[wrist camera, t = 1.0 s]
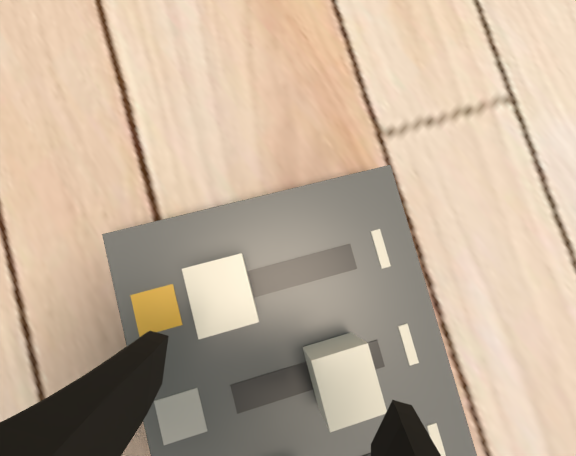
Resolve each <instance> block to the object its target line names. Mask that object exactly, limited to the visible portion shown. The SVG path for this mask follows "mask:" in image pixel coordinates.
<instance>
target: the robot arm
mask: <svg viewBox="0 0 576 456" xmlns="http://www.w3.org/2000/svg"><path fill="white" fill-rule="evenodd" d="M168 337H169V336H168V335H164V334H160V333H157V332H153V331H148V332H146V333H145V334H144V335H142V336H141V337H139V338H138V339H137V340H135V341H134V342H133V343H131V344H130V345H128V346H127V347H126V348H124V349H123V350H121V351H120V352H118V353H117V354H116V355H114V356H113V357H111V358H110V359H108V360H107V361H105V362H104V363H102V364H101V365H99V366H98V367H96V368H95V369H93V370H92V371H90V372H89V373H87V374H86V375H84V376H82V377H81V378H79V379H78V380H76V381H74V382H73V383H71V384H69V385H68V386H66V387H64V388H63V389H61V390H59V391H58V392H56V393H54V394H53V395H51V396H49V397H47V398H46V399H44V400H42V401H40V402H39V403H37V404H35V405H33V406H31V407H29V408H28V409H26V410H24V411H22V412H20V413H18V414H16V415H14V416H12V417H10V418H8V419H6V420H4V421H2V422H0V456H121V454H122V453H123V451H124V450H125V448H126V447H127V445H128V444H129V442H130V440H131V439H132V437H133V436H134V434H135V433H136V431H137V429H138V428H139V426H140V425H141V423H142V422H143V420H144V418H145V417H146V415H147V413H148V411H149V409H150V407H151V405H152V403H153V401H154V399H155V397H156V395H157V393H158V391H159V389H160V387H161V385H162V382H163V374H164V367H165V359H166V352H167V345H168ZM371 456H441V455H440V453H439V451H438V450H437V448H436V446H435V444H434V443H433V441H432V439H431V438H430V436H429V434H428V432H427V431H426V429H425V427H424V425H423V424H422V422H421V420H420V418H419V417H418V415H417V413H416V411H415V410H414V408H413V406H412V405H409V404H406V403H402V402H399V401H395V400H392V402H391V404H390V406H389V408H388V410H387V412H386V414H385V416H384V418H383V420H382V422H381V424H380V426H379V428H378V431H377V433H376V435H375V437H374V439H373V441H372V443H371Z"/></svg>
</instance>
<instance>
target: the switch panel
mask: <svg viewBox="0 0 576 456" xmlns="http://www.w3.org/2000/svg"><path fill="white" fill-rule="evenodd" d="M102 235H103V240H104V244H105V249H106V254H107V258H108V263H109V267H110V272H111V276H112V281H113V285H114V290H115V294H116V299H117V303H118V308H119V313H120V317H121V322H122V326H123V331H124V335H125V340H126V344H127V346H128V345H130V344H131V343H133V342H134V341H135V340H137V339H138V338H139V337H141V336H142V335H144V334H145V333H146V332H148V331H153V332H157V333H160V334H164V335H168V336H169V337H168V345H167V352H166V359H165V367H164V374H163V382H162V385H161V387H160V389H159V391H158V393H157V395H156V397H155V399H154V401H153V403H152V405H151V407H150V409H149V411H148V413H147V415H146V417H145V418H144V420H143V421H144V426H145V431H146V435H147V440H148V444H149V449H150V453H151V456H371V443H372V441H373V439H374V437H375V435H376V433H377V431H378V428H379V426H380V424H381V422H382V420H383V418H384V416H385V414H383V415H380V416H377V417H375V418H372V419H369V420H366V421H363V422H360V423H357V424H354V425H351V426H348V427H345V428H342V429H339V430H336V431H333V432H330V431H329V429H328V427H327V425H326V423H325V421H324V418H323V416H322V414H321V412H320V410H319V408H318V404H317V400H316V397H315V393H314V389H313V385H312V381H311V378H310V374H309V370H308V366H307V362H306V359H305V355H304V351H303V347H305V346H308V345H311V344H314V343H318V342H321V341H324V340H328V339H331V338H334V337H338V336H341V335H344V334H347V333H353V334H354V335H356V336H358V337H359V338H361V339H362V340H364V341H365V342H367V343H368V345H369V349H370V352H371V356H372V360H373V363H374V367H375V370H376V374H377V378H378V381H379V385H380V388H381V392H382V395H383V399H384V403H385V406H386V410H388V408H389V406H390V404H391V402H392V400H395V401H399V402H402V403H406V404H409V405H412V406H413V408H414V410H415V411H416V413H417V415H418V417H419V418H420V420H421V422H422V424H423V425H424V427H425V429H426V431H427V432H428V434H429V436H430V438H431V439H432V441H433V443H434V444H435V446H436V448H437V450H438V451H439V453H440V455H441V456H477V454H476V451H475V447H474V444H473V441H472V437H471V434H470V431H469V427H468V424H467V421H466V417H465V414H464V411H463V407H462V404H461V400H460V397H459V394H458V390H457V387H456V384H455V380H454V377H453V374H452V370H451V367H450V364H449V360H448V357H447V354H446V350H445V347H444V343H443V340H442V337H441V333H440V330H439V327H438V323H437V320H436V317H435V313H434V310H433V307H432V303H431V300H430V297H429V293H428V290H427V286H426V283H425V280H424V276H423V273H422V270H421V266H420V263H419V260H418V256H417V253H416V250H415V246H414V243H413V239H412V236H411V233H410V229H409V226H408V223H407V219H406V216H405V213H404V209H403V206H402V203H401V199H400V196H399V193H398V189H397V186H396V182H395V179H394V176H393V172H392V169H391V166H390V165H388V166H384V167H380V168H375V169H371V170H367V171H363V172H359V173H355V174H351V175H346V176H342V177H338V178H334V179H330V180H326V181H321V182H317V183H313V184H309V185H305V186H301V187H297V188H292V189H288V190H284V191H280V192H276V193H272V194H268V195H263V196H259V197H255V198H251V199H247V200H243V201H238V202H234V203H230V204H226V205H222V206H218V207H214V208H209V209H205V210H201V211H197V212H193V213H189V214H185V215H180V216H176V217H172V218H168V219H164V220H160V221H155V222H151V223H147V224H143V225H139V226H135V227H131V228H126V229H122V230H118V231H114V232H110V233H106V234H102ZM240 253H242V255H243V257H244V261H245V265H246V269H247V273H248V277H249V281H250V285H251V289H252V292H253V296H254V300H255V304H256V308H257V312H258V318H259V322H258V323H254V324H251V325H247V326H244V327H241V328H237V329H234V330H230V331H227V332H223V333H220V334H216V335H213V336H209V337H206V338H202V339H198V335H197V331H196V327H195V323H194V319H193V314H192V310H191V306H190V302H189V298H188V293H187V289H186V285H185V281H184V277H183V272H182V269H183V268H187V267H191V266H194V265H198V264H202V263H206V262H210V261H214V260H217V259H221V258H225V257H229V256H233V255H237V254H240Z"/></svg>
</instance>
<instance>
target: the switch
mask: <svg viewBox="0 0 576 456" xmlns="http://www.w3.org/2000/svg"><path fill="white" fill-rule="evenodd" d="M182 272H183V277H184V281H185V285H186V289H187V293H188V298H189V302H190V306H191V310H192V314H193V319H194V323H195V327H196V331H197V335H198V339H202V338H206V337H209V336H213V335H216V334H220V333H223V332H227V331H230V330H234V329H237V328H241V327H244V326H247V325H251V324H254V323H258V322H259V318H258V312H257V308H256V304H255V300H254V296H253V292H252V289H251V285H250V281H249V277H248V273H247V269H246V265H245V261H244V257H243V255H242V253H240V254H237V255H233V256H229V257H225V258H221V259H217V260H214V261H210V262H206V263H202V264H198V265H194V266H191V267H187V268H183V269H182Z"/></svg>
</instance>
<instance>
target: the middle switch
mask: <svg viewBox="0 0 576 456" xmlns="http://www.w3.org/2000/svg"><path fill="white" fill-rule="evenodd" d="M303 351H304V355H305V359H306V362H307V366H308V370H309V374H310V378H311V381H312V385H313V389H314V393H315V397H316V400H317V404H318V408H319V410H320V412H321V414H322V416H323V418H324V421H325V423H326V425H327V427H328V429H329V431H330V432H333V431H336V430H339V429H342V428H345V427H348V426H351V425H354V424H357V423H360V422H363V421H366V420H369V419H372V418H375V417H377V416H380V415H383V414H386V412H387V410H386V406H385V403H384V399H383V395H382V392H381V388H380V385H379V381H378V378H377V374H376V370H375V367H374V363H373V360H372V356H371V352H370V349H369V345H368V343H367V342H365V341H364V340H362V339H361V338H359V337H358V336H356V335H354V334H353V333H347V334H344V335H341V336H338V337H334V338H331V339H328V340H324V341H321V342H318V343H314V344H311V345H308V346H305V347H303Z"/></svg>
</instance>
